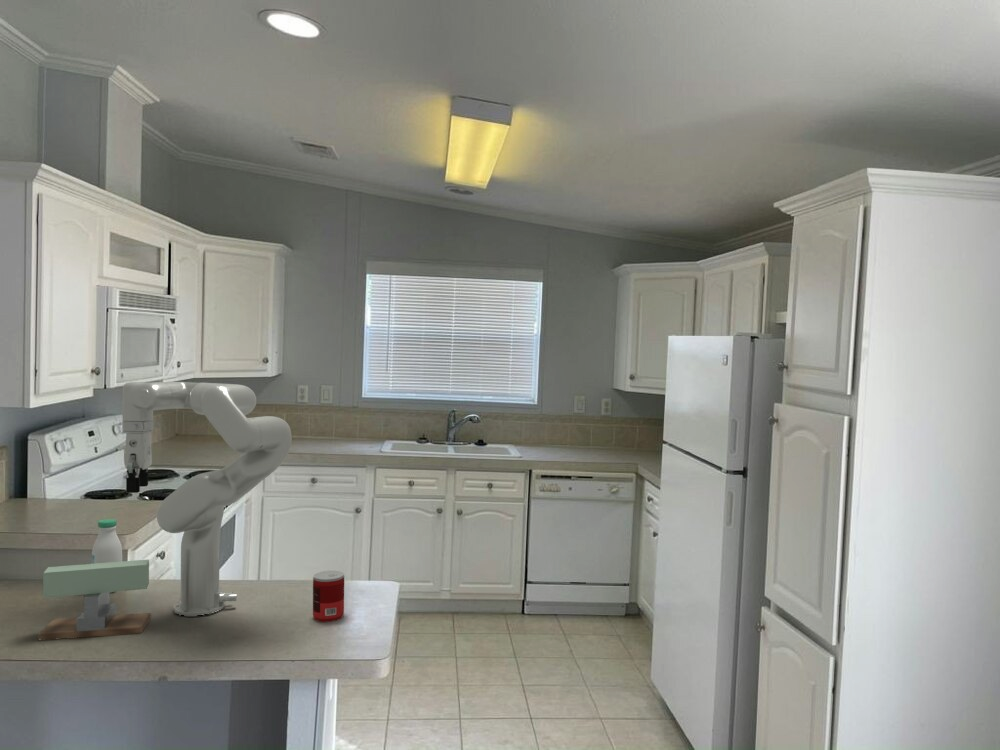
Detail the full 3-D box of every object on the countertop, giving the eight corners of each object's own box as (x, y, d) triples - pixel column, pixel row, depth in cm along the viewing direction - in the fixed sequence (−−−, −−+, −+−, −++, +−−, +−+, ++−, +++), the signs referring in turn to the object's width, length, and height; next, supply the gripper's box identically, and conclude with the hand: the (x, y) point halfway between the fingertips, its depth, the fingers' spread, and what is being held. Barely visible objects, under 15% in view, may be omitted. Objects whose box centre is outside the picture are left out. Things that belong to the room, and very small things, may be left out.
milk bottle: (128, 586, 208) (128, 518, 208) (109, 595, 200) (109, 524, 200) (104, 585, 209) (105, 516, 209) (84, 593, 202) (85, 522, 201)
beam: (148, 583, 181) (149, 559, 181) (146, 588, 177) (147, 564, 177) (48, 591, 174) (48, 567, 173) (43, 598, 169) (43, 572, 169)
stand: (150, 618, 183) (150, 581, 183) (141, 633, 173) (141, 593, 173) (53, 625, 177) (53, 587, 177) (38, 640, 168) (38, 600, 167)
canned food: (349, 614, 188) (350, 572, 188) (330, 624, 181) (330, 580, 181) (326, 609, 191) (326, 568, 191) (306, 619, 184) (306, 576, 184)
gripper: (145, 430, 189) (145, 494, 190) (159, 424, 206) (158, 483, 206) (114, 430, 187) (113, 495, 188) (130, 424, 204) (130, 484, 204)
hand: (137, 489), depth 197 cm, fingers open, 9 cm apart
